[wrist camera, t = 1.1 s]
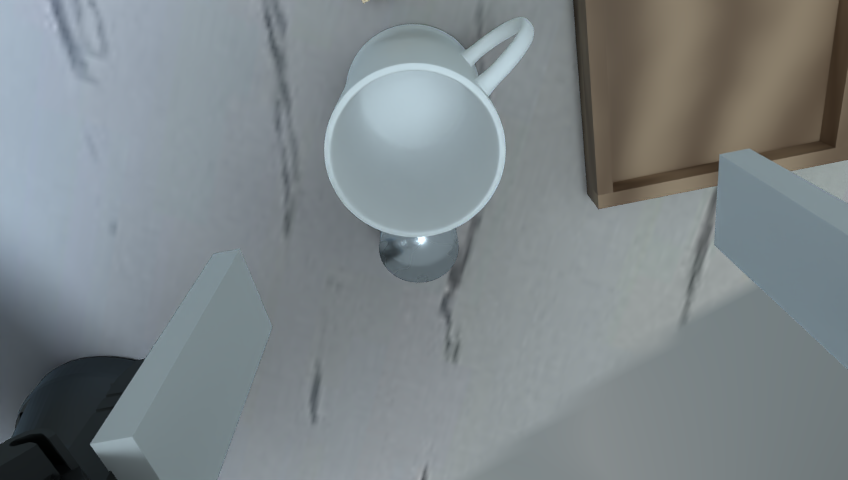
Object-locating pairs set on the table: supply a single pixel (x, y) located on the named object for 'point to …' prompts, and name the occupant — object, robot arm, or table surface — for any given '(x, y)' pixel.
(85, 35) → the table surface
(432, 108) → the mug
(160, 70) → the table surface
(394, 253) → the grey tin
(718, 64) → the tray
